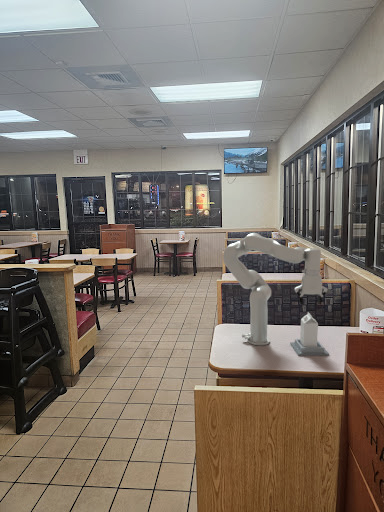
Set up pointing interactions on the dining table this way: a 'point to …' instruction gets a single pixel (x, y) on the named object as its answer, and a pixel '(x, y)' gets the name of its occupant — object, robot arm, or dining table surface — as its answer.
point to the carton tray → (308, 349)
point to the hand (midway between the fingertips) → (310, 303)
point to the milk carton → (308, 331)
